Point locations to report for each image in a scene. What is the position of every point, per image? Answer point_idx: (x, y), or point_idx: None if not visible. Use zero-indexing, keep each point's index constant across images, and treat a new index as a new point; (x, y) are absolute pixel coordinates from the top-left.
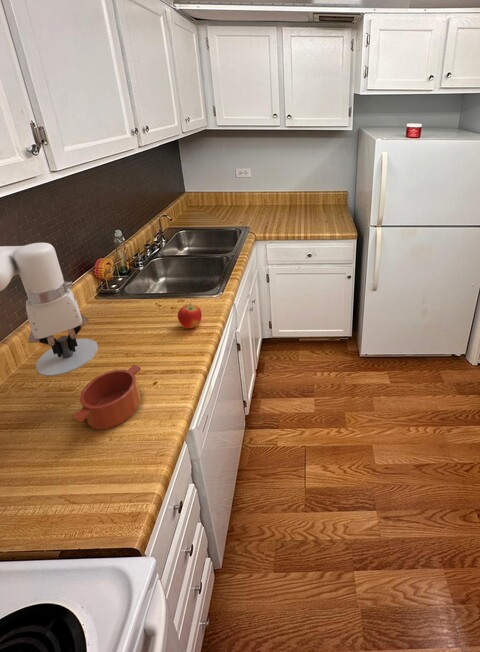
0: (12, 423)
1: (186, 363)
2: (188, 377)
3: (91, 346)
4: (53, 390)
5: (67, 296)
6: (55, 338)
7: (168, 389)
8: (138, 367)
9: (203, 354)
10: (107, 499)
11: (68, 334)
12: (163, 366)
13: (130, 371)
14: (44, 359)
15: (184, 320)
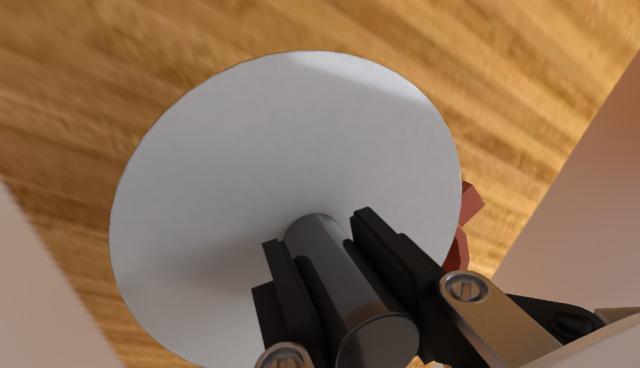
0: (26, 189)
1: (543, 133)
2: (526, 192)
3: (434, 198)
4: (132, 59)
5: None
6: (325, 363)
7: (477, 216)
8: (481, 206)
9: (590, 114)
10: None
11: (434, 324)
12: (494, 115)
13: (462, 231)
14: (161, 240)
15: None
